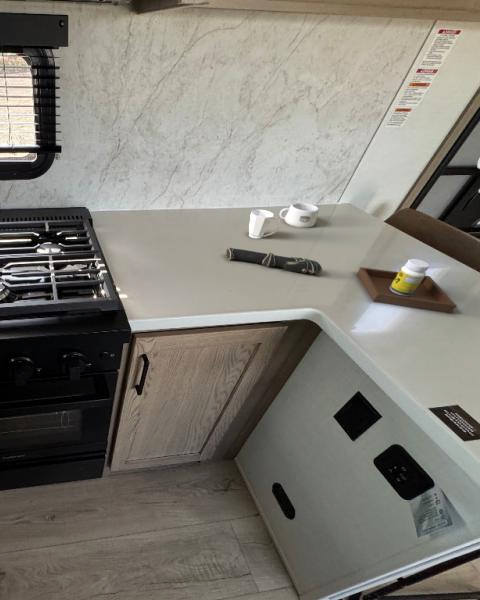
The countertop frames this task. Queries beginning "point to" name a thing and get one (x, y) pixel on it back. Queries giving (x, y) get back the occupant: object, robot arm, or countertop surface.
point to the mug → (301, 215)
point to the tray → (422, 298)
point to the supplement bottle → (409, 277)
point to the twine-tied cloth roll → (275, 260)
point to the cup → (261, 223)
